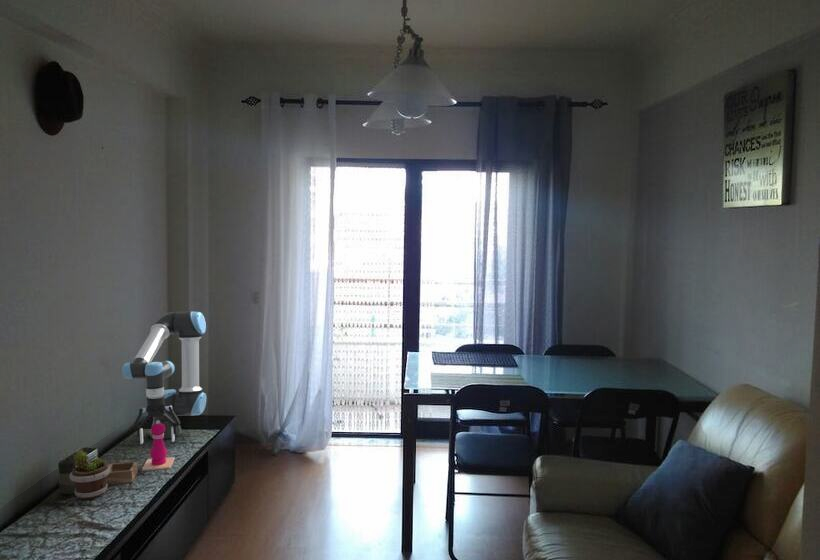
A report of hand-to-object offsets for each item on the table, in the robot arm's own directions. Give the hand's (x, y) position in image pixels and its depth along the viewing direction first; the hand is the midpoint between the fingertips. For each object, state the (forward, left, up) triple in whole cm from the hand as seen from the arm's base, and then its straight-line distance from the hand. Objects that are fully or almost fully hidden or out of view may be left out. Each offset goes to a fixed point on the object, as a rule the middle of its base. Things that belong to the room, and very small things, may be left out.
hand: (157, 441), depth 286 cm
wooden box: (+13, -13, -11) cm, 21 cm away
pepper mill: (0, 0, -10) cm, 10 cm away
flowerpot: (+28, -21, -11) cm, 37 cm away
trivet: (0, 0, -11) cm, 11 cm away
